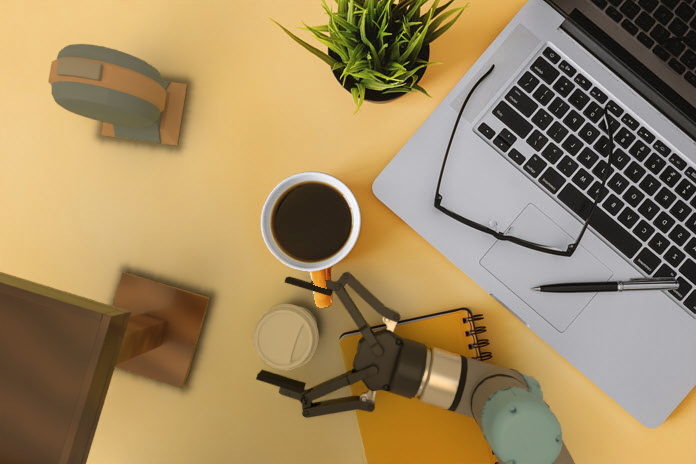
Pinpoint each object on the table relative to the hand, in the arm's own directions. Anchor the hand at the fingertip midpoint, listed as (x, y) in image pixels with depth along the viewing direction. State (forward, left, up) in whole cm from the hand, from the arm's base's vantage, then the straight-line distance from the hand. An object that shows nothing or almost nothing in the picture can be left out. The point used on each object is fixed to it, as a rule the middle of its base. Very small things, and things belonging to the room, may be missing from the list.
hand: (272, 326), depth 67 cm
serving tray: (-12, +15, +22) cm, 30 cm away
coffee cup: (+1, -3, -7) cm, 7 cm away
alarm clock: (+15, +36, -7) cm, 40 cm away
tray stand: (-12, +15, -7) cm, 21 cm away
